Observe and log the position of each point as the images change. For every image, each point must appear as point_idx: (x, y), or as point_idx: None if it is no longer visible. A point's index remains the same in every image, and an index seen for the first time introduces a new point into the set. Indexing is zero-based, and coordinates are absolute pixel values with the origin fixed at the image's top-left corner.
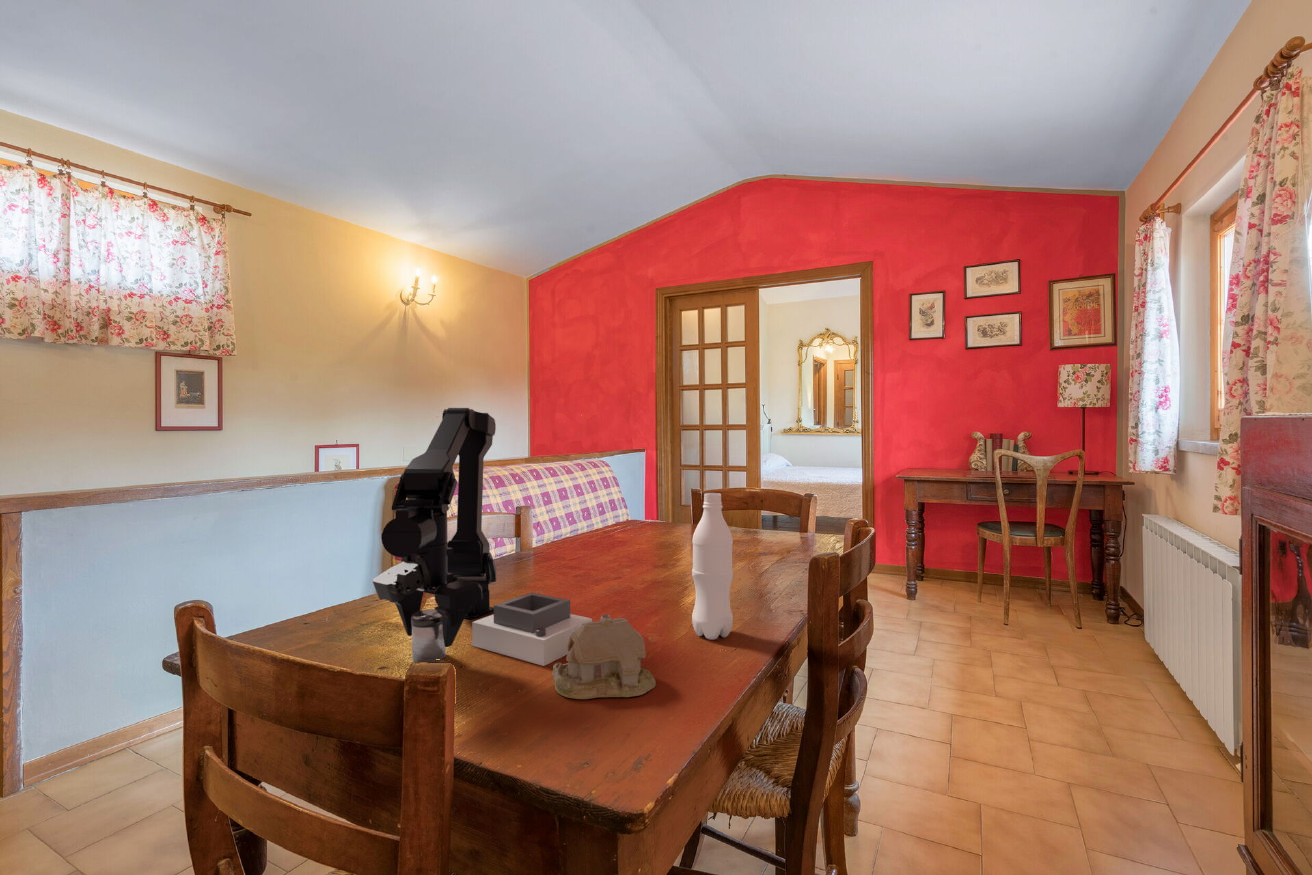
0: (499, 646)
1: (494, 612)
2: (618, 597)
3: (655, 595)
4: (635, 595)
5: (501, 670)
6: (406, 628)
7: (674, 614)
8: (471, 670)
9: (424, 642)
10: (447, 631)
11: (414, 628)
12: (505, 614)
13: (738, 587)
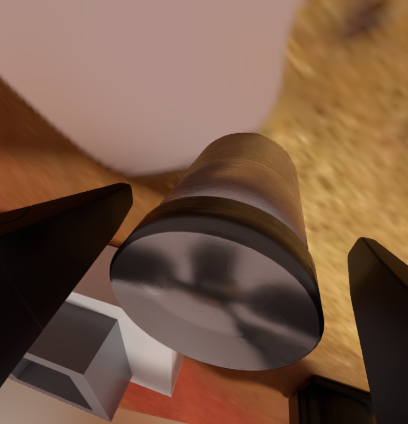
0: (99, 256)
1: (96, 349)
2: (153, 404)
3: (124, 401)
4: (142, 405)
5: (28, 175)
6: (386, 258)
7: None
8: (70, 151)
9: (195, 169)
10: (47, 201)
11: (239, 196)
12: (53, 336)
13: None
